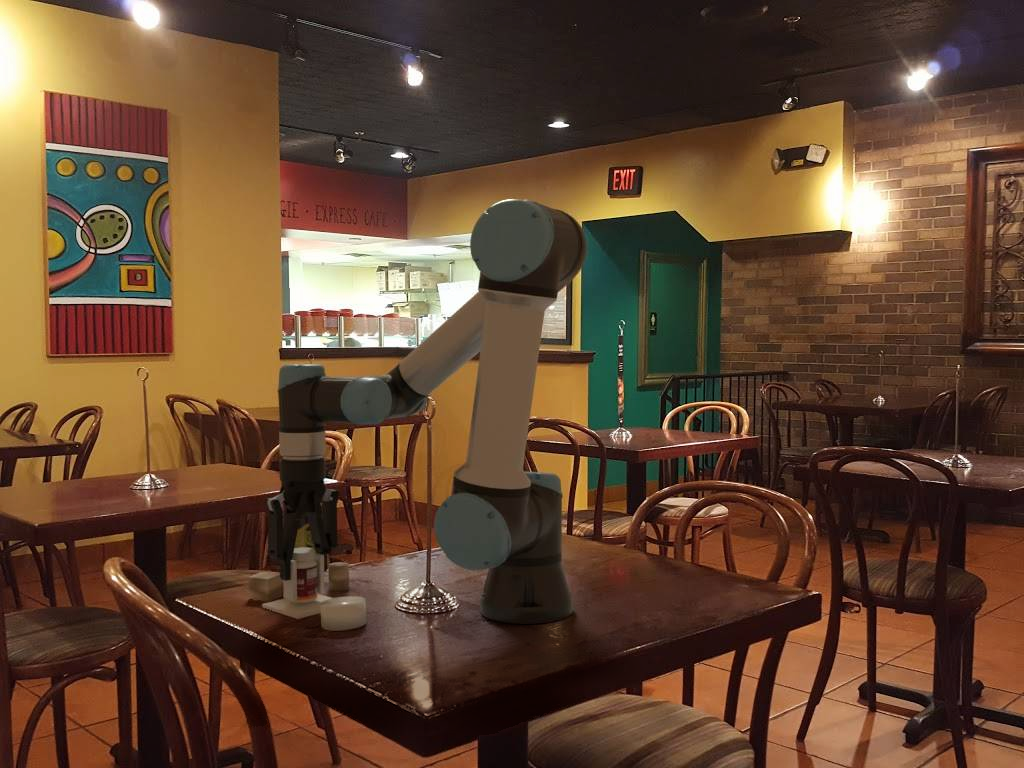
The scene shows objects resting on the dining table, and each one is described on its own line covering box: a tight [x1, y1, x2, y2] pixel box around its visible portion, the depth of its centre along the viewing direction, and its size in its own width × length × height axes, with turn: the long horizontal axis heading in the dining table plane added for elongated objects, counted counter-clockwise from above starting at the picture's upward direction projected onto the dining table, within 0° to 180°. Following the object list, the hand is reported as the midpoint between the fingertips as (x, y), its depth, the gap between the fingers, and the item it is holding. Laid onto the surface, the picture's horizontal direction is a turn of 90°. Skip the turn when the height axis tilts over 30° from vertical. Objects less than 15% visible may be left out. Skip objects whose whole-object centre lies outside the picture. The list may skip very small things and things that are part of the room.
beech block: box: [248, 571, 283, 603], centre depth 164 cm, size 4×4×4 cm
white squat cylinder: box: [320, 595, 368, 632], centre depth 148 cm, size 7×7×4 cm
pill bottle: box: [290, 547, 318, 603], centre depth 158 cm, size 5×5×8 cm
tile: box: [261, 593, 333, 620], centre depth 158 cm, size 10×10×1 cm
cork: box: [327, 561, 350, 593], centre depth 169 cm, size 4×4×4 cm
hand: (304, 595), depth 158 cm, fingers closed on pill bottle, 5 cm apart
